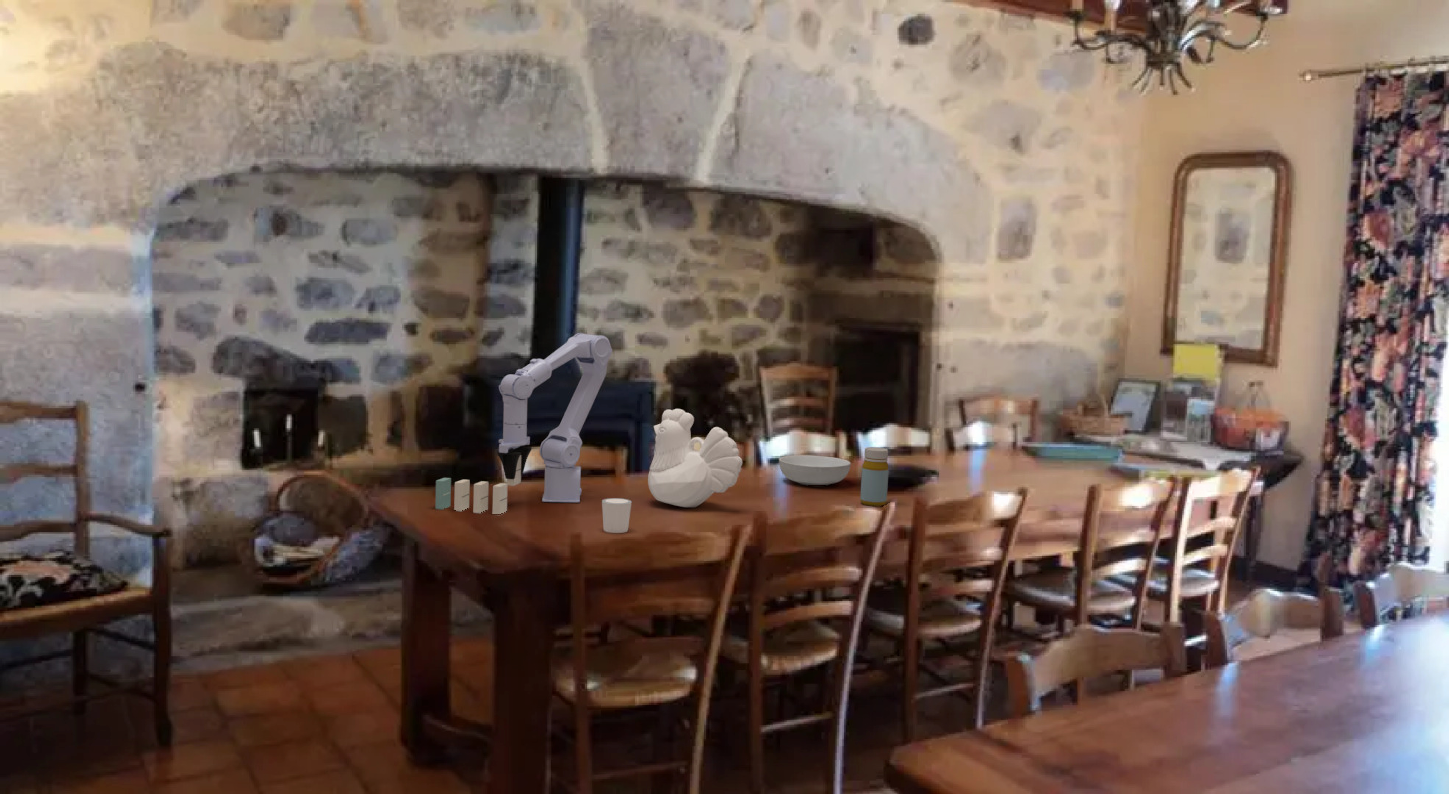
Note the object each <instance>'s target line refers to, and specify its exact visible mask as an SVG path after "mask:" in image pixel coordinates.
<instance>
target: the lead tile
mask: <svg viewBox="0 0 1449 794" xmlns="http://www.w3.org/2000/svg"><path fill="white" fill-rule="evenodd" d="M521 481H522V476H521V455H520V456H519V459H518V462H517V467H516V475H515V478H514V479H506V484H508V485H507V486H512V487H514V486H516V485H519V484H521V483H522V482H521Z"/></svg>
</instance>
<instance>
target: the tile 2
mask: <svg viewBox="0 0 1449 794" xmlns="http://www.w3.org/2000/svg"><path fill="white" fill-rule="evenodd" d="M470 484H471V483H470V479H461V480H458V481H455V482H454V499H453V500H454V501H453V502H454V508H453V511H454V510H456V511H455V512H463V511H466V510H467V508H468V509H469V508H470ZM465 509H466V510H465ZM462 510H463V511H462Z"/></svg>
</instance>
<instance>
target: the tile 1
mask: <svg viewBox="0 0 1449 794" xmlns="http://www.w3.org/2000/svg"><path fill="white" fill-rule="evenodd" d="M451 488H452V478H451V477H442V478H440V479H437V480H435V505H434V506H435V507H434V509H435V510H444V508H445V509H447V508H449V507H451V502H452V501H451V498H452V495H451V493H452V491H451V490H452V489H451Z"/></svg>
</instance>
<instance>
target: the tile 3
mask: <svg viewBox="0 0 1449 794" xmlns="http://www.w3.org/2000/svg"><path fill="white" fill-rule="evenodd" d="M472 507H473V510H472V512H473V513H474V514H482V513H484V512H486V511H485V510H487V511H488V510H489V481H484V480H483V481H482V480H481V481H479V482H475V483H474V484H473V506H472ZM483 511H484V512H483ZM481 512H482V513H481Z"/></svg>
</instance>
